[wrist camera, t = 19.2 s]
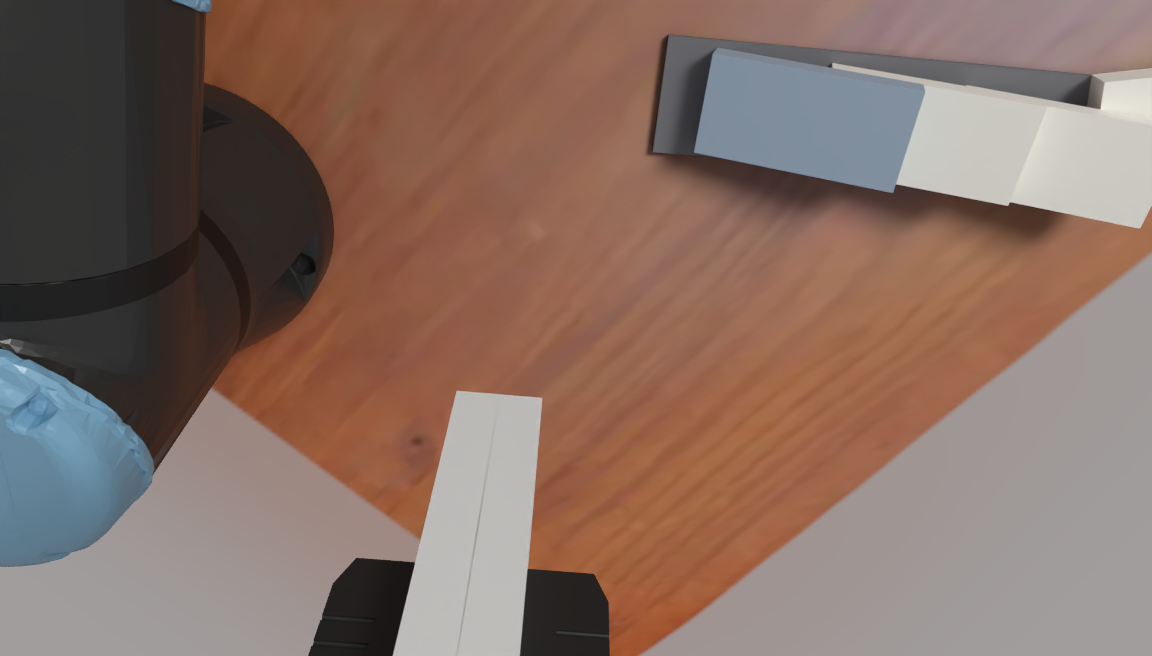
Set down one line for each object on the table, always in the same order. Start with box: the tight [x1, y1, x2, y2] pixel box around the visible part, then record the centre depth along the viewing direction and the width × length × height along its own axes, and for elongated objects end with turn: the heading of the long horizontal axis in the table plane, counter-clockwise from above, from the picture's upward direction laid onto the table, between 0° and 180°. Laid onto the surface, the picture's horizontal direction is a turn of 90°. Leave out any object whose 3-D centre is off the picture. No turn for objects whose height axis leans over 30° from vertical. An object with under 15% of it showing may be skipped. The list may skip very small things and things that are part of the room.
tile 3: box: [966, 85, 1152, 228], centre depth 43 cm, size 2×5×10 cm
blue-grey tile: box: [694, 48, 925, 193], centre depth 42 cm, size 2×5×10 cm
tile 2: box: [831, 63, 1047, 206], centre depth 43 cm, size 2×5×10 cm
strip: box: [652, 34, 1092, 159], centre depth 45 cm, size 26×6×1 cm, turn 85°
